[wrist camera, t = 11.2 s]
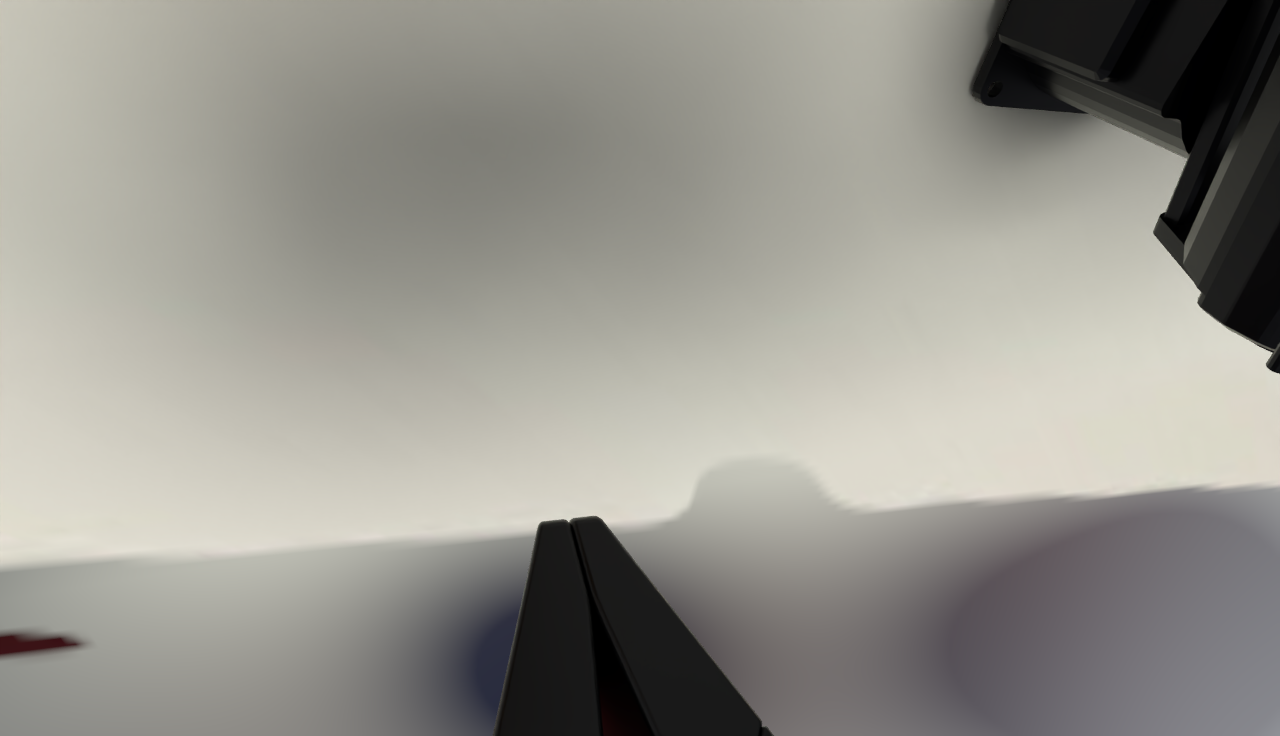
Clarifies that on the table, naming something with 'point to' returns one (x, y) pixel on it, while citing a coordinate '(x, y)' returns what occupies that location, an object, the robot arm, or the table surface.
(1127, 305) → the table surface
